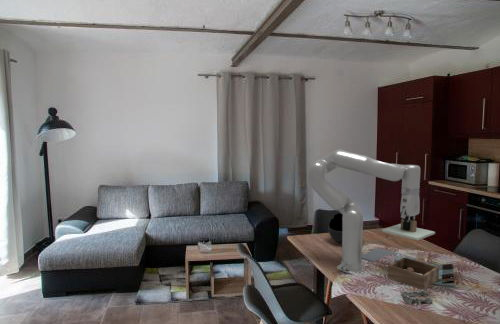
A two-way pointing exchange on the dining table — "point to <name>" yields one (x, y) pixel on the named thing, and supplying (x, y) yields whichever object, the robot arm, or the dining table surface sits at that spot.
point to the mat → (380, 255)
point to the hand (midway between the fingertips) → (408, 229)
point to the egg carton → (416, 293)
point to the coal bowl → (336, 228)
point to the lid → (412, 234)
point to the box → (410, 278)
